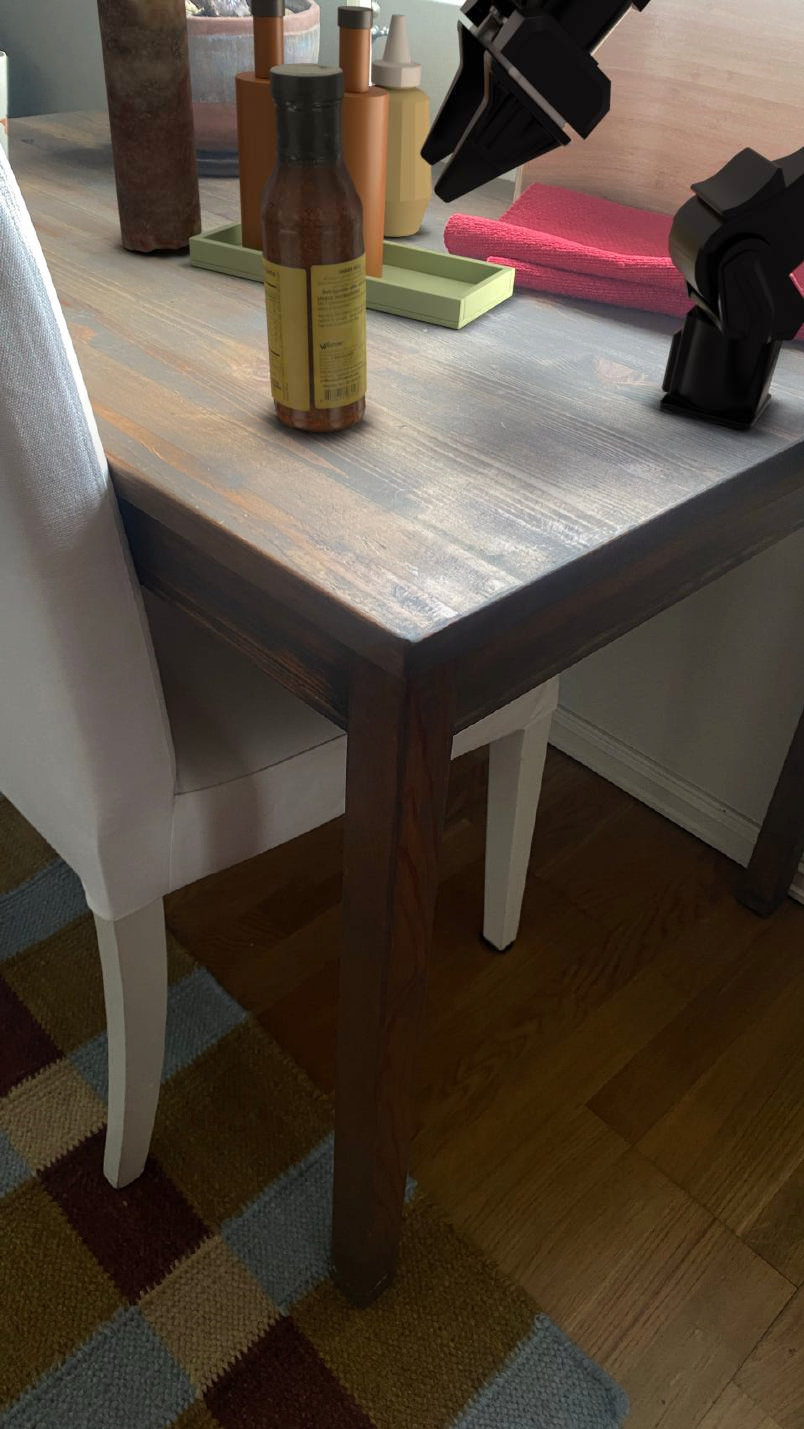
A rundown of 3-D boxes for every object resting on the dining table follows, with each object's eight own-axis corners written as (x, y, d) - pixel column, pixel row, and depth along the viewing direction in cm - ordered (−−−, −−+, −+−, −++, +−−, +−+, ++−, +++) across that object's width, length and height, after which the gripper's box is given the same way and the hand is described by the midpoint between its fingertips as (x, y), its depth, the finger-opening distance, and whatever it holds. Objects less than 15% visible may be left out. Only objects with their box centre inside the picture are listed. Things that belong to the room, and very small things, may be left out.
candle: (140, 230, 100) (114, -25, 87) (214, 238, 99) (199, -18, 86) (109, 252, 94) (77, -18, 81) (187, 260, 93) (167, -10, 80)
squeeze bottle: (357, 216, 108) (363, 7, 96) (434, 224, 107) (449, 14, 95) (341, 237, 101) (344, 16, 90) (422, 245, 101) (436, 24, 89)
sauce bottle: (371, 402, 71) (382, 63, 59) (359, 441, 66) (368, 81, 54) (276, 394, 71) (267, 55, 59) (257, 432, 67) (244, 72, 54)
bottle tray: (512, 295, 90) (544, 23, 78) (458, 329, 83) (484, 35, 70) (259, 238, 100) (251, -14, 87) (190, 265, 92) (170, -7, 80)
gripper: (491, -192, 59) (324, 54, 66) (550, -205, 45) (329, 111, 52) (620, -37, 64) (452, 176, 72) (710, -5, 50) (489, 258, 57)
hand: (432, 177), depth 63 cm, fingers open, 9 cm apart
